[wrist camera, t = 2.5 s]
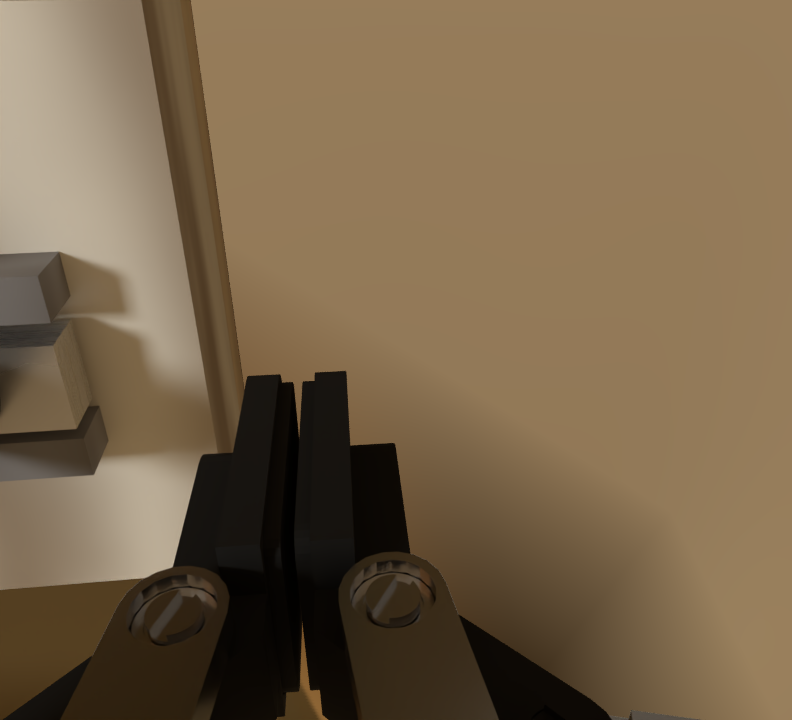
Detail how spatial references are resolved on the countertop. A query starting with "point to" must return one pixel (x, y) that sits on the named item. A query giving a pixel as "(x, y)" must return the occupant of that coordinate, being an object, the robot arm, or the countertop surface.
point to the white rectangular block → (112, 283)
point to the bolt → (41, 378)
